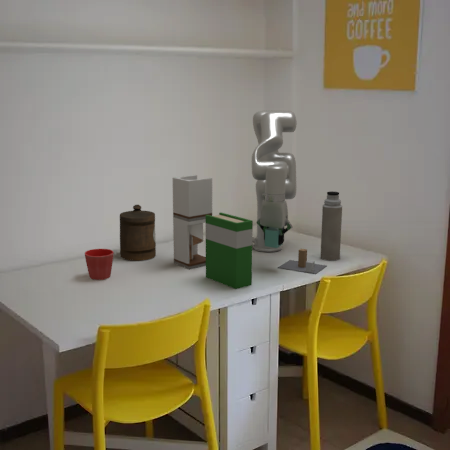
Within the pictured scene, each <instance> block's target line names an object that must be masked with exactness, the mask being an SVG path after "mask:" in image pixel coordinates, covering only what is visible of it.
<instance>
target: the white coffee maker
mask: <svg viewBox="0 0 450 450" xmlns="http://www.w3.org/2000/svg"><path fill="white" fill-rule="evenodd" d="M206 215H210V216H213V177H209V178H199V179H198V175H197V174H193V175H185V176H184V175H183V176H177V177H172V223H173V224H172V225H173V226H172V228H173V229H172V232H173V234H172V237H173V264H175V265H177V266H179V267H182V268H184V269H187V270H193V269H199V268H202V267H206V256H203V255H201V254H198V252H199V249H198V245H199V244H200V243H203V242H204V223H205V224H206Z"/></svg>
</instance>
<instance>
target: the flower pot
mask: <svg viewBox="0 0 450 450" xmlns="http://www.w3.org/2000/svg"><path fill="white" fill-rule="evenodd" d="M114 253H115V252H114V251H113V250H112V249H109V248H95V249H89V250H86V251H85V252H84V258H85V263H86V266H87V268H86V269H87V272H88V276H89V279H90V280H96V281H103V280H108V279H109V278H111V274H112V267H113V261H114Z"/></svg>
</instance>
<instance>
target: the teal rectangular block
mask: <svg viewBox="0 0 450 450" xmlns="http://www.w3.org/2000/svg"><path fill="white" fill-rule="evenodd" d="M279 235H280V233H279V229H278V228H273V227H269V228H267V229H265V246H267V247H273V248H278V247H280V246H283V244H281V245H278V238H279Z"/></svg>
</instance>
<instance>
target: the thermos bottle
mask: <svg viewBox="0 0 450 450" xmlns="http://www.w3.org/2000/svg"><path fill="white" fill-rule="evenodd" d="M323 203H324V204H322V209H321V210H322V213H321V214H322V215H321V235H320V236H321V239H320V259H322V260H324V261H331V262H332V261H333V262H334V261H339V260H340V259H341V239H342V238H341V237H342V220H343V219H342V217H343V205H342V201H341V199H340V192H338V191H327V192H326V198H325V199H324V201H323Z"/></svg>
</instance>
